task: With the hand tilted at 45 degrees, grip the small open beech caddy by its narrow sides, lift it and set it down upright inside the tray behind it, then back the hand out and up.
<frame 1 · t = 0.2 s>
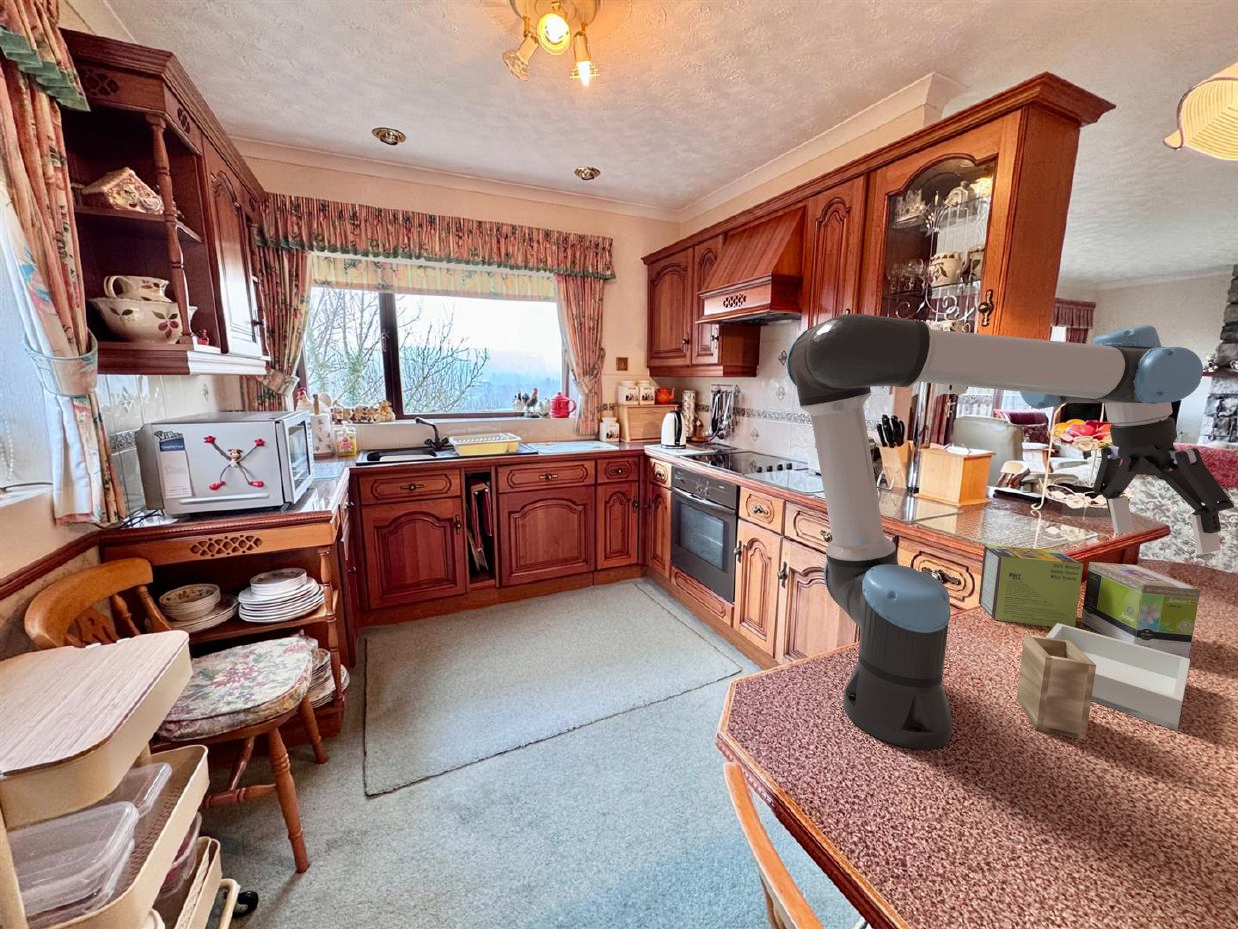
hand: (1163, 540, 83), 27 cm above the kitchen counter, tool tilted 15°, fingers open, 13 cm apart
protein box: (1023, 616, 116), on the kitchen counter
tray: (1106, 682, 89), on the kitchen counter
beech caddy: (1048, 719, 78), on the kitchen counter
tea box: (1130, 640, 105), on the kitchen counter
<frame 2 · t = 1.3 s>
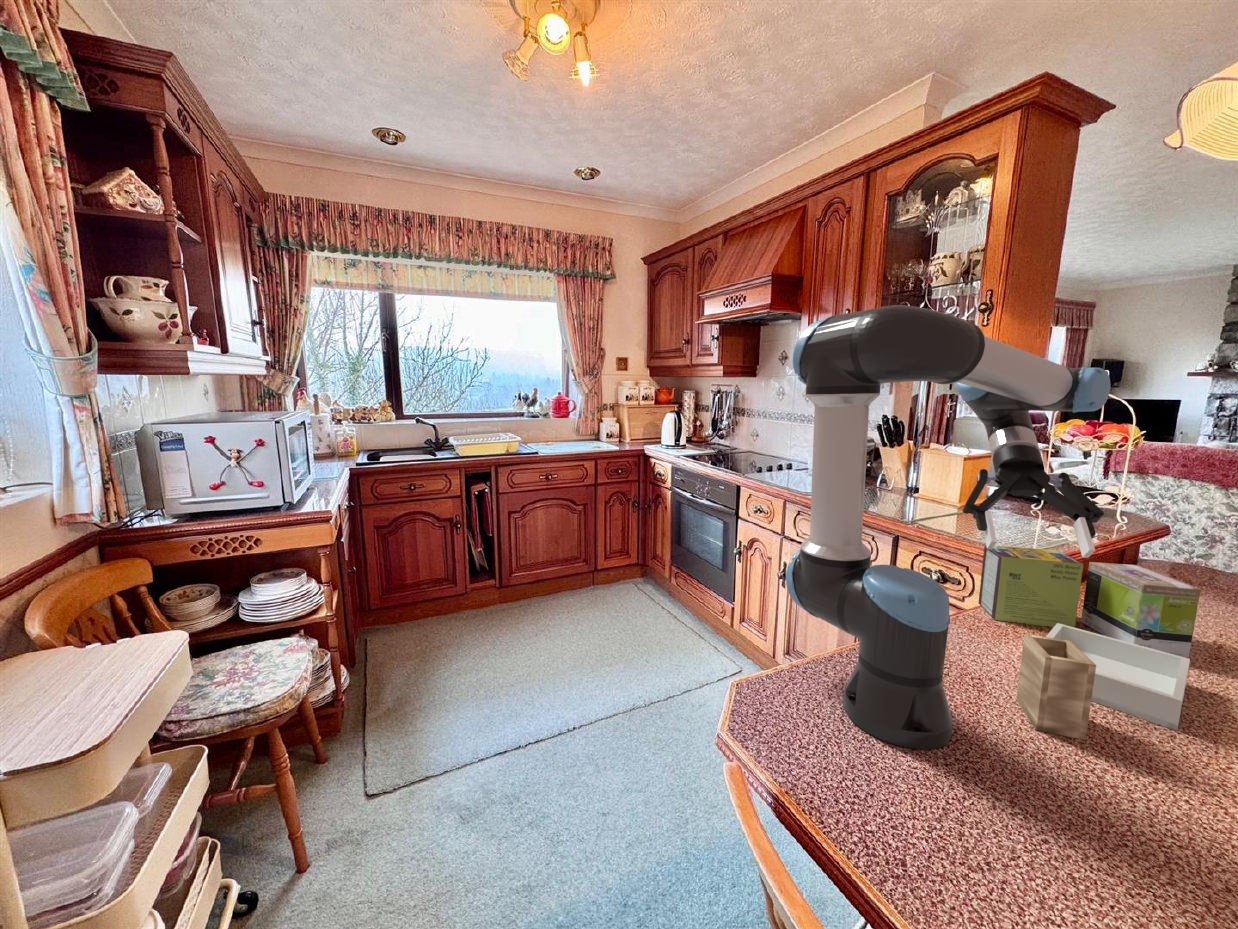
hand: (1038, 549, 85), 25 cm above the kitchen counter, tool tilted 45°, fingers open, 13 cm apart
nothing on the kitchen counter moved.
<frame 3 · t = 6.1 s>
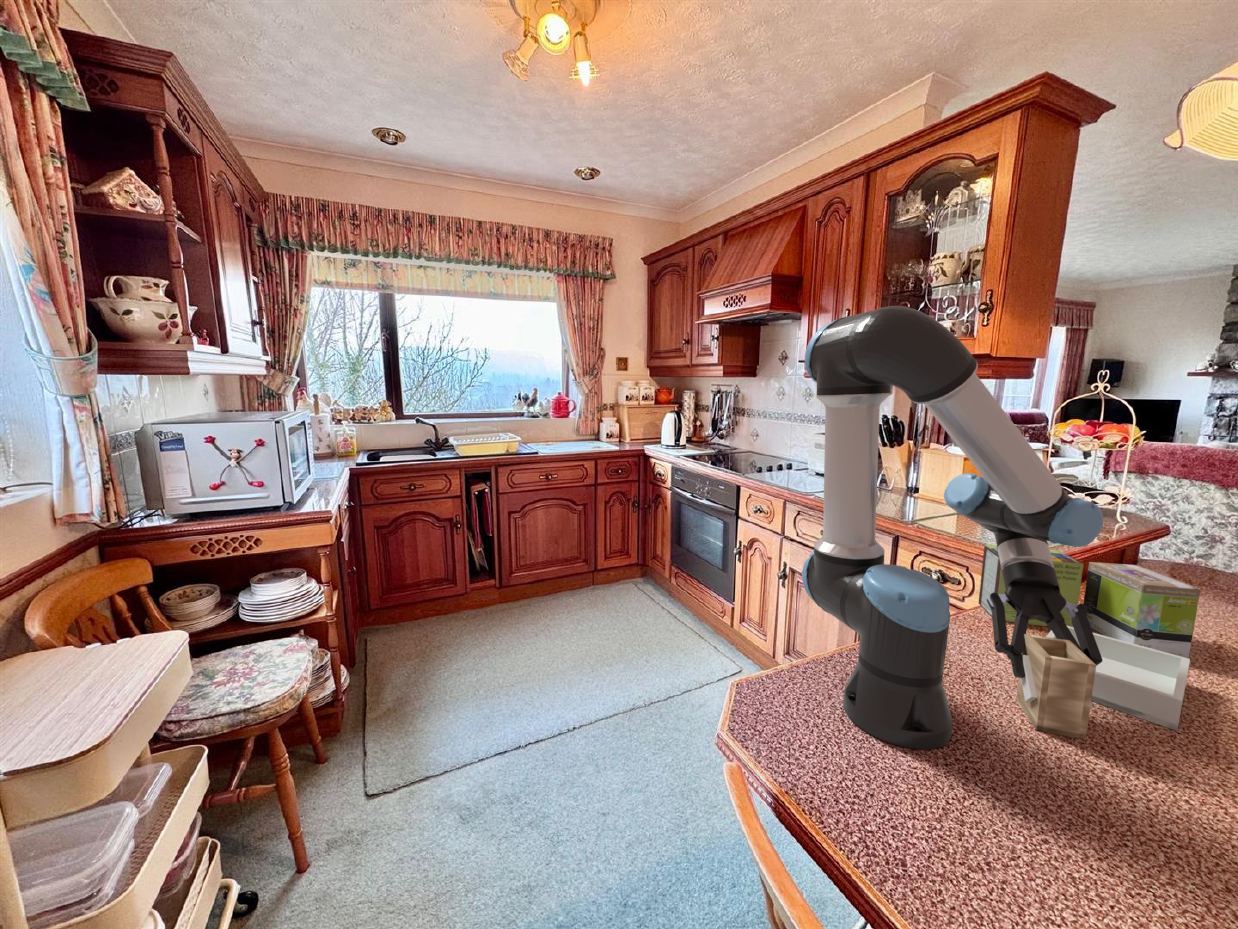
hand: (1057, 704, 76), 4 cm above the kitchen counter, tool tilted 45°, fingers closed on beech caddy, 6 cm apart
beech caddy: (1048, 719, 78), on the kitchen counter, touching gripper
everything else where it was.
when the fingers open (6 cm above the kitchen counter, at t = 12.4 s): beech caddy drops 2 cm, resting on tray.
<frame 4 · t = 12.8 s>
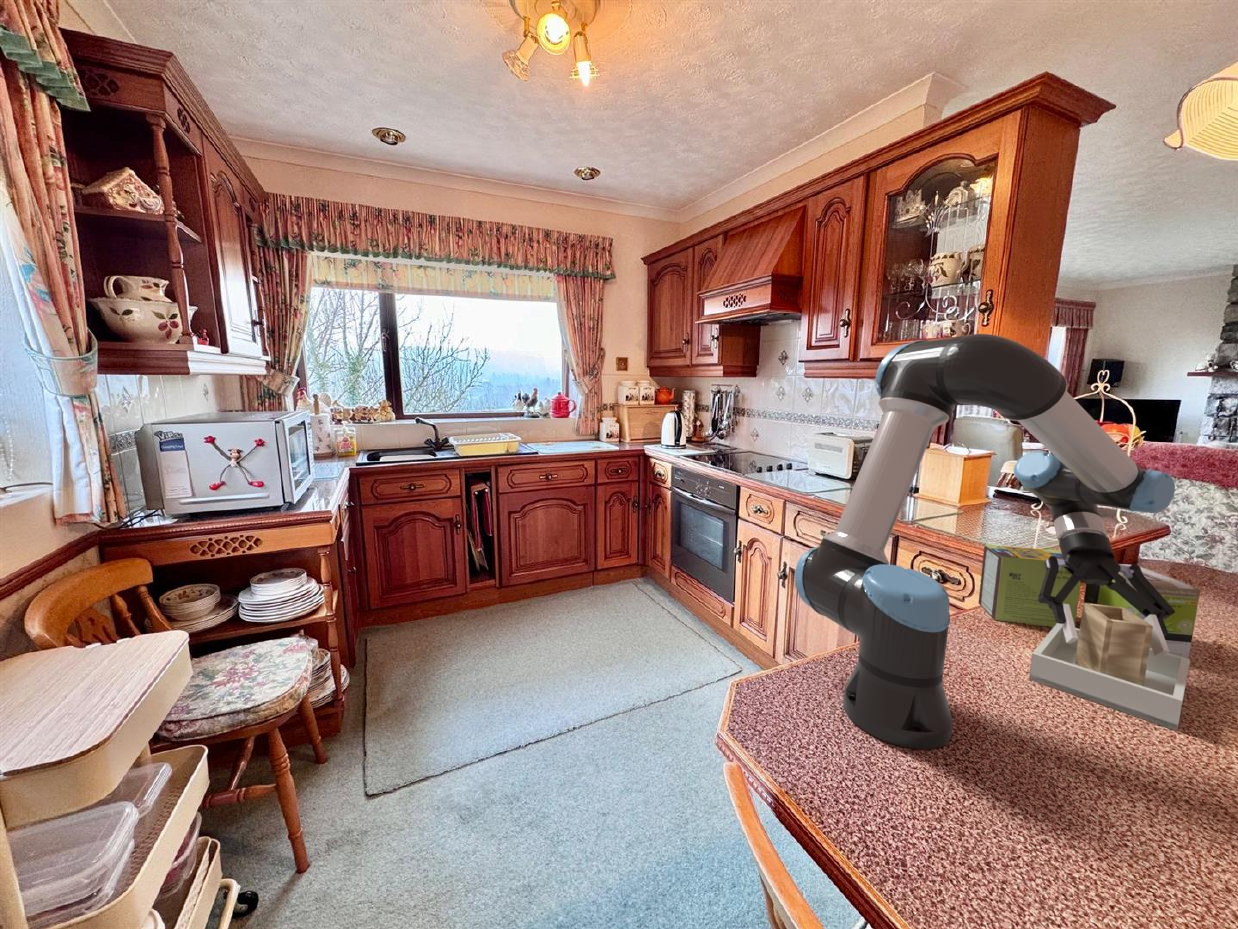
hand: (1115, 647, 87), 7 cm above the kitchen counter, tool tilted 45°, fingers open, 11 cm apart
beech caddy: (1107, 676, 89), point 1 cm above the kitchen counter, touching tray
everything else where it was.
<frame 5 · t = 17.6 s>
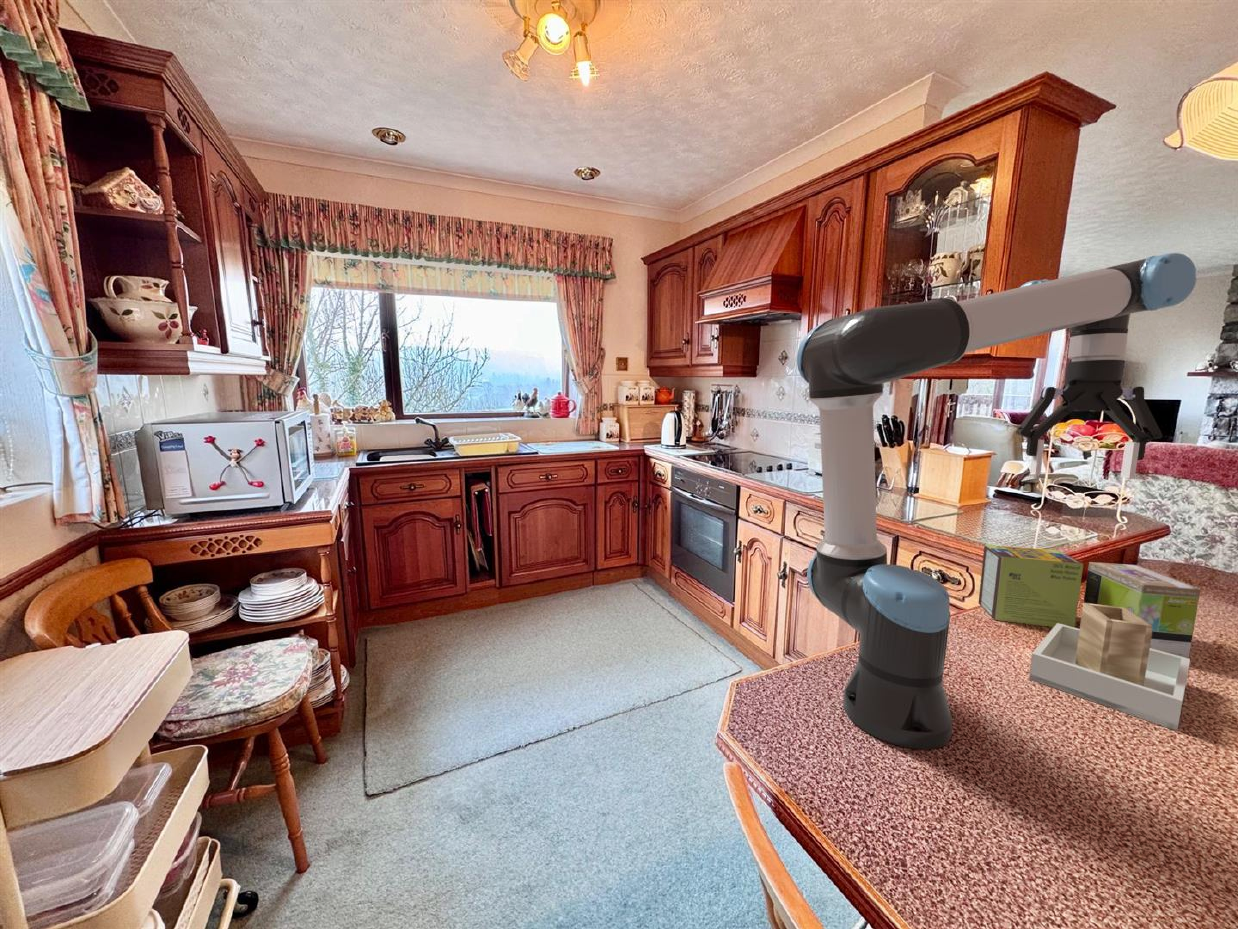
hand: (1079, 475, 92), 37 cm above the kitchen counter, tool pointing down, fingers open, 13 cm apart
nothing on the kitchen counter moved.
at the end: beech caddy inside the target area on the tray (0.0 cm from its centre), point 1.0 cm above the tray's base; beech caddy tilted 0°; the gripper is holding nothing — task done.
